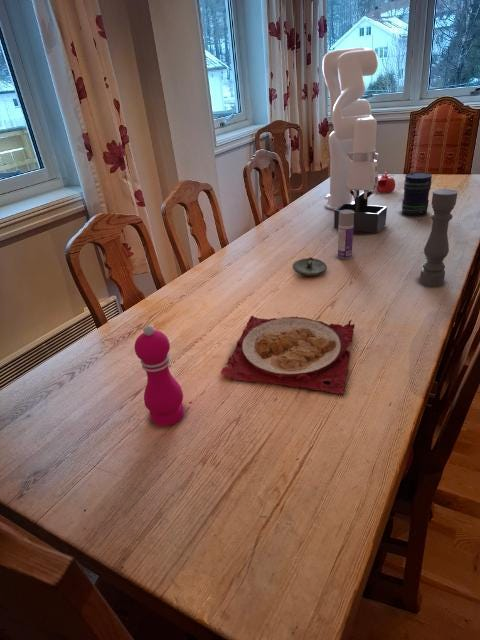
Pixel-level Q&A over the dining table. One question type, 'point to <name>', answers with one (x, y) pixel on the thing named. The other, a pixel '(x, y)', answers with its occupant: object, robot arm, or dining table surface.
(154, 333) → the pepper mill
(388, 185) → the pomegranate
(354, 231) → the turntable
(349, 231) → the container
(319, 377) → the plate with food
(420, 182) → the storage jar
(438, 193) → the candle holder
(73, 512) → the dining table surface
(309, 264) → the lid
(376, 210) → the bin
